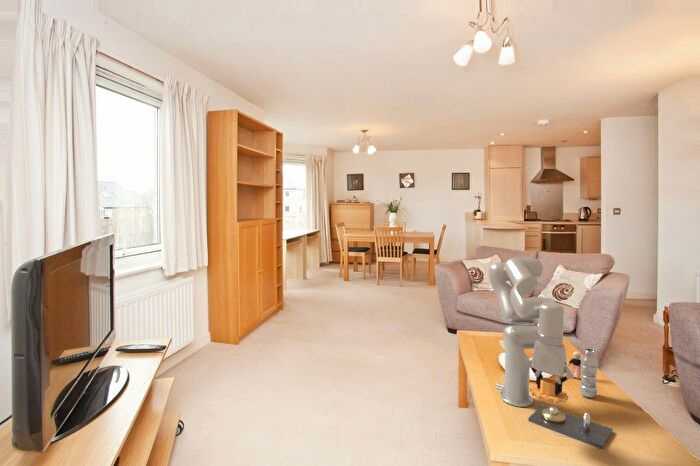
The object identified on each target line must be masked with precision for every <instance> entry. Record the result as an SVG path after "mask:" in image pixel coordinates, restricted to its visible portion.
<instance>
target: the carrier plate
mask: <svg viewBox="0 0 700 466" xmlns="http://www.w3.org/2000/svg"><path fill="white" fill-rule="evenodd" d="M527 421H528V422H530V423H532V424H536V425H538V426H541V427H543V428H546V429H549V430H552V431H554V432H556V433H559V434H561V435H564V436H567V437H568V438H572V439H575V440H577V441H580V442H582V443H584V444H587V445H590V446H593V447H595V448H597V449H600V450H603V448H604V447H605V446H606V444H607V443H608V440H609V439H610V438H611V436H612V434H613V431H614V429H613V428H611V427H608V426H605V425H603V424H599V423H596V422H593V421H591V415H590V413H588V412H585V413H583V418H582V417H579V416H577V415H573V414H570V413H567V412H565V411H561V410H559V408H558V407H557V406H547V405H544V404H542V405H540V406H539V408H537V409H536V410H535V411H534V412H533V413H532V414H530V416H528V420H527Z"/></svg>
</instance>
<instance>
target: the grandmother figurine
mask: <svg viewBox="0 0 700 466" xmlns="http://www.w3.org/2000/svg"><path fill="white" fill-rule="evenodd" d="M581 358H582V354H581V353H580V352H579V351H574V352H573V357H572V358H571V359H570V360H569V361H568V362H567V367H570V366H571V370H570V371H571V372H572V374H573V375H574V377H572V378H571V379H575V378H576V380H581V379H582V377H581V376H582V368H581Z"/></svg>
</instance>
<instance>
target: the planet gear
mask: <svg viewBox="0 0 700 466" xmlns="http://www.w3.org/2000/svg"><path fill="white" fill-rule="evenodd" d="M556 383H557V379H556V378H551V377H544V376H543V378H541V379H540V389H538V388H537V384H533V385H532V386H531V387H530V386H529V393H530V396H531V397H533V396H534V397H535V399H536V400H538V401H540V400H541V401H544V403H547V404H550V403H554V405H559V404H560V403H562V404H566V402H567V401H569V395H568V392H566V391H563V390H562V392H560V393H559V394H558V395H556V394H555V384H556Z"/></svg>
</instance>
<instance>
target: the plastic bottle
mask: <svg viewBox="0 0 700 466" xmlns="http://www.w3.org/2000/svg"><path fill="white" fill-rule="evenodd" d="M595 352H596V351H595V350H594V349H593V348H585V349H584V355H583V356H582V357H581V358H580V360H581V364H580V366H581V379H580V385H579V392H580V394H581V396H583V397H586V398H588V399H589V398H590V399H593V398H596V397H597V396H598V387H597V373H598V368H599V362H598V360H597V358H596V357H595V355H596V353H595Z"/></svg>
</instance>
